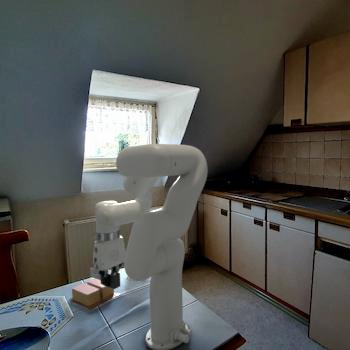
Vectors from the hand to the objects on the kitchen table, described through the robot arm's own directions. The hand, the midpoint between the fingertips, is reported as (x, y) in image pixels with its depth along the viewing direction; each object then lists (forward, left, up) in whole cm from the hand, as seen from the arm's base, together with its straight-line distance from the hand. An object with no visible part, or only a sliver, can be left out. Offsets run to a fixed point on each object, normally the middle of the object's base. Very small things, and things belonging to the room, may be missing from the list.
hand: (110, 283), depth 95 cm
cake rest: (+11, -3, -8) cm, 14 cm away
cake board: (+10, 0, -9) cm, 13 cm away
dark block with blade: (+4, 0, -1) cm, 4 cm away
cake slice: (+11, +3, -8) cm, 14 cm away
